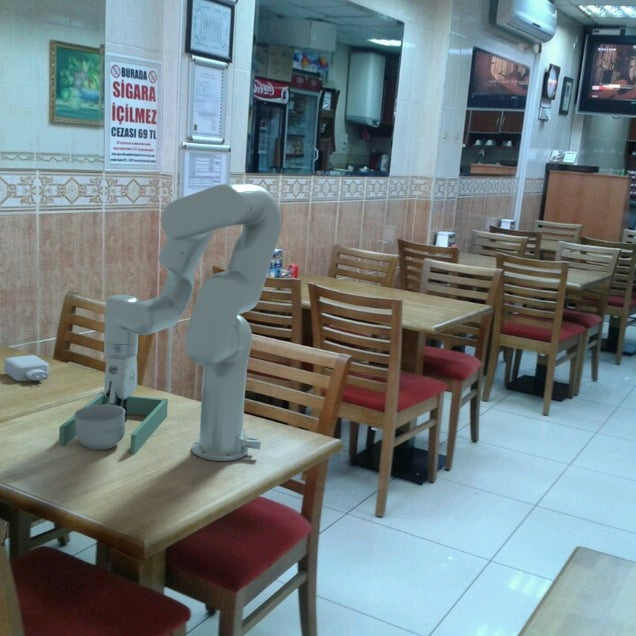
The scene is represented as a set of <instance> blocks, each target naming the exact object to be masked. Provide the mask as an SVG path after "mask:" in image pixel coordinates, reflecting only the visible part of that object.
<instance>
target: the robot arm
mask: <svg viewBox="0 0 636 636" xmlns="http://www.w3.org/2000/svg"><path fill="white" fill-rule="evenodd" d="M281 214H282V213H281V210H280V207H279V204H278V203H277V201H276V200H275V198H274V196H273V195H272V194H271V193H270V192H269V191H268V190H267V189H265V188H263V187H262V186H260V185H257V184H254V183H222V184H217V185H215V186H211V187H209V188H205V189H203V190H200V191H197V192H195V193H192V194H189V195H185V196H183V197H180V198H177V199H175V200H172V201H171V202H169V203H168V204H167V205H166V206H165V208H164V209H163V210H162V214H161V219H160V223H161V224H160V225H161V228H162V231H163V233H164V234H165V235H166V236H167V238H166V240H165V242H164V244H163V246H162V248H161V249H160V252H159V254H158V262H159V263H160V265H161V266H162V267H163V268H164V269H165V270H167V276H166V280H165V283H164V285H163V287H162V290H161V291H160V293H159V294H158V297H153V298H149V299H146V300H142V301H139V300H138V298H137V297H136V296H133V295H128V294H114V295H110V296H109V297H107V299H106V301H105V315H104V316H105V318H104V319H105V320H104V322H105V323H104V355H105V356H106V360H105V361H106V363H105V371H104V383H103V384H104V385H103V386H104V388H103V389H104V392H103V393H105V397H106V398H109V397H110V398H109V404H111V405H116V406H120V407H122V408H124V409H125V423H126V422H127V417H128V416H127V402H128V397H129V396H132V394H134V392H136V390H137V388H138V361H137V356H138V354H139V353H138V351H139V350H138V347H139V335H141V336H147V335H151V334H154V333H157V332H159V331H163V330H166V329H169V328H171V327H173V326H175V325H176V324H177V323H178V322H179V321H180V320H181V318H182V317H183V315H184V313H185V310H186V309H187V306H189V303H190V301H191V299H192V295H193V293H194V285H195V271H196V269H197V267H198V265H199V263H200V261H201V259H202V257H203V255H204V253H205V252H206V249H207V247H208V245H209V243H210V241H211V239H212V237H213V236H214V233H215V231H217V230H218V231H219V230H220V229H225V228H228V227H234V226H242V229H241V232H240V234H239V236H238V238H237V239H236V241H235V243H234V245H233V248H232V252H231V254H230V255H231V256H230V258H229V262H228V264H227V267H226V269H225V270H224V271H221V272H217V273H214V274H212V275H211V276H209V277H208V278H207V279H205V281H204V283H202V285H201V286H200V289H199V291H198V293H197V295H196V296H197V297H196V299H195V302H194V306H193V310H192V312H191V316H190V318H189V319H190V320H189V323H188V326H187V330H186V334H185V350H186V353H187V355H188V356H189V358H190V359H191V361H193V362H194V363H195V364H196V365H199V366H203V372H202V373H203V374H202V385H201V386H202V387H201V402H200V422H199V423H200V424H199V438H198V439H197V440H194V442H193V443H192V447H191V451H192V453H193V454H194V455H196V456H197V457H199V458H201V459H204V460H209V461H215V462H230V461H234V460H235V461H236V460H238V459H242V458H244V457H245V456H246V455H248V453H249V449H252V450H261V447H262V441H261V440H258V437H255V436H248V435H246V429H244V427H243V426H244V413H245V399H246V398H245V396H246V395H245V394H246V386H247V385H246V384H247V383H246V382H247V381H246V380H247V372H248V363H249V359H250V353H251V348H252V343H253V333H252V328H251V326H250V324H249V322H248V321H247V319H245V317H243V316H242V314H243V313H244V314H245V313H247V312H249V311H251V310H253V309H254V308H255V307H257V305H258V303H259V301H260V298H261V296H262V292H263V291H264V287H265V284H266V281H267V280H266V279H267V277H268V274H269V271H270V268H271V264H272V260H273V258H274V254H275V251H276V248H277V245H278V242H279V238H280V235H281V231H282V215H281Z"/></svg>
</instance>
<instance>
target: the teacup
mask: <svg viewBox="0 0 636 636" xmlns="http://www.w3.org/2000/svg"><path fill="white" fill-rule="evenodd" d="M83 407H84V406H83ZM83 407H80V408H79V409H77V410H76V411H75V412H74V415H75V423H76V434H77V435H76V438H77V441H78V442H79V443H80V444H81V445H83V446H85V448H87V449H90V450H92V451H93V450H95V451H102V450H108V449H112V448H113V447H115V446H117V445H118V444H119V443H120V442H121V441H122V440H123V439H124V436H125V432H126V422H125V409H124V408H122V407H120V406H116V405H111V404H109V403H107V404H106V405H92V406H88V407H84V408H83Z"/></svg>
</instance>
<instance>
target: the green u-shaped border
mask: <svg viewBox="0 0 636 636" xmlns="http://www.w3.org/2000/svg"><path fill="white" fill-rule="evenodd" d="M109 398H110V397H109ZM109 398H106V397H105V393H104V392H100V393H99V394H98V395H97V396H95V397H94V398H93V399H92V400H91V401H89V402H88V403H87V404H86V405H85V406H83V407H82V408H84V407H88V406H92V405H106V404H107V403H109ZM168 401H169V399H167V398H158V397H157V398H156V397H149V396H148V397H147V396H138V395H130V396H129V397H128V402H127V414H129V415H137V416H146V418H145V419H144V420H143V421H141V423H140V424H139V425H138V426H137V427H136V428H134V429H135V430H134V431H132V432H131V434H130V451H129V454H131V455H136V453H137V452H138V451H139V450H140V449H141V448H142V446H143V445H144V444H145V443H146V442H147V441H148V440H149V438H150V437H151V436H152V434H154V433H155V431H156V430H157V429H158V428H159V426H160V425H161V424H162V423H163V422H164V421H165V419H166V418H167V417H168ZM58 431H59V433H58V434H59V437H58V438H59V439H58V440H59V441H58V446H59V447H65V446H67V444H68V443H69V442H71V441H72V440H74V439H75V437H77V434H76V423H75V415H73V414H72V416H70V417H69V418H68V419H67V420H66V421H65V422H63V423H62V424H60V426H59V430H58Z"/></svg>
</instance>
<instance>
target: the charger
mask: <svg viewBox="0 0 636 636" xmlns="http://www.w3.org/2000/svg"><path fill="white" fill-rule="evenodd" d="M3 363H4V364H3V365H4V366H3V368H4V370H3V372H4V374H6V375H7V376H9V377H11V378H12V379H14V381H16V382H18V381H22V382H27V381H28V380H30V381H41V380H45V379H47V378H49V376H50V364H49V363H48V362H46V361H45V360H43V359H42V358H40V357H38V356H37V355H33V354H31V355H20V356H12V357H8V358H6V359H4V361H3ZM28 382H29V381H28Z"/></svg>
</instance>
